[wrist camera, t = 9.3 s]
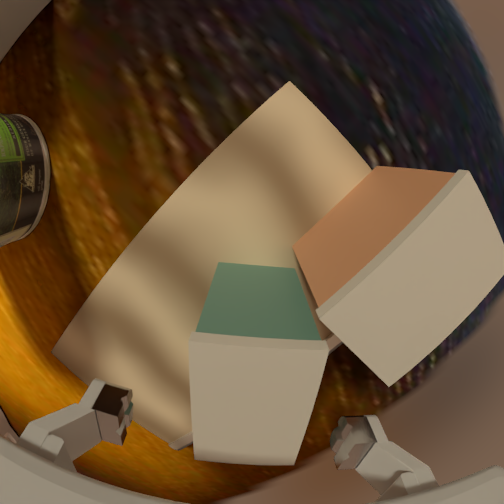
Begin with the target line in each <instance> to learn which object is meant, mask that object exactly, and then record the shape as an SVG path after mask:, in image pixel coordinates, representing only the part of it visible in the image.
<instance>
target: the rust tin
mask: <svg viewBox="0 0 504 504" xmlns="http://www.w3.org/2000/svg"><path fill="white" fill-rule="evenodd" d="M292 248H293V250H294V252H295V255H296V257H297V259H298V261H299V264H300V266H301V268H302V270H303V273H304V275H305V277H306V279H307V282H308V284H309V286H310V289H311V291H312V293H313V296H314V298H315V300H316V303H317V305H318V307H319V308H318V309H316V313H317V315H318V318H319V319H320V320H321V321H322V322H323V323H324V324H325V325H326V326H327V327H328V328H329V329H330V330H331V331H332V332H333V333H334V334H335V335H336V336H337V337H338V338H339V339H340V340H341V341H342V342H343V343H344V344H345V345H346V346H347V347H348V348H349V349H350V350H351V351H353V352H354V353H355V354H356V355H357V356H358V357H359V358H360V359H361V360H362V361H363V362H364V363H365V364H366V365H367V366H368V367H369V368H370V369H371V370H372V371H373V372H374V373H375V374H376V375H377V376H378V377H379V378H380V379H381V380H382V381H383V382H384V383H385V384H387V385H388V386H391V385H392V384H393V383H395V382H396V381H397V380H398V379H400V378H401V377H402V376H403V375H405V374H406V373H407V372H408V371H409V370H411V369H412V368H413V367H414V366H415V365H417V364H418V363H419V362H420V361H421V360H422V359H423V358H425V357H426V356H427V355H428V354H429V353H430V352H431V351H432V350H433V349H435V348H436V347H437V346H438V345H439V344H440V343H441V342H442V341H443V340H444V339H445V338H446V337H447V336H448V335H449V334H450V333H451V332H452V331H453V330H454V329H455V328H456V327H457V326H458V325H459V324H460V323H461V322H462V321H463V320H464V319H465V318H466V317H467V316H468V315H469V314H470V313H471V312H472V311H473V310H474V309H475V308H476V306H477V305H478V304H479V303H480V302H481V301H482V300H483V299H484V297H485V296H486V295H487V294H488V293H489V292H490V291H491V289H492V288H493V287H494V286H495V285H496V283H497V282H498V281H499V280H500V278H501V277H502V276H503V275H504V244H503V241H502V239H501V236H500V234H499V232H498V229H497V227H496V225H495V222H494V220H493V218H492V216H491V213H490V211H489V209H488V207H487V205H486V203H485V201H484V199H483V197H482V195H481V193H480V191H479V189H478V187H477V185H476V183H475V181H474V179H473V177H472V176H471V174H470V172H469V171H466V170H458V171H457V172H456V173H449V172H440V171H431V170H421V169H410V168H398V167H384V166H376V167H375V168H374V169H373V170H372V171H371V172H370V173H369V174H368V175H367V176H366V177H365V178H364V179H363V180H362V181H361V182H360V183H359V184H358V185H357V186H355V187H354V188H353V189H352V190H351V191H350V192H349V193H348V194H347V195H346V196H345V197H344V198H343V199H342V200H341V201H340V202H339V203H338V204H337V205H336V206H334V207H333V208H332V209H331V210H330V211H329V212H328V213H327V214H326V215H325V216H324V217H323V218H322V219H321V220H320V221H319V222H317V223H316V224H315V225H314V226H313V227H312V228H311V229H310V230H309V231H308V232H307V233H306V234H305V235H304V236H302V237H301V238H300V239H299V240H298V241H297V242H296V243H295V244H294V245H293V246H292Z"/></svg>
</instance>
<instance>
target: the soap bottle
mask: <svg viewBox="0 0 504 504" xmlns="http://www.w3.org/2000/svg"><path fill="white" fill-rule="evenodd" d="M50 1H51V0H0V62H1V61H2V59H3V58H4V56H5V55H6V54H7V52H8V51H9V49H10V48H11V47H12V45H13V44H14V43H15V42H16V40H17V39H18V38H19V36H20V35H21V34H22V33H23V31H24V30H25V29H26V28H27V27H28V25H29V24H30V23H31V22H32V21H33V20H34V18H35V17H36V16H37V15H38V14H39V13H40V12H41V11H42V10H43V9H44V7H45V6H46V5H47V4H48V3H49V2H50Z"/></svg>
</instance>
